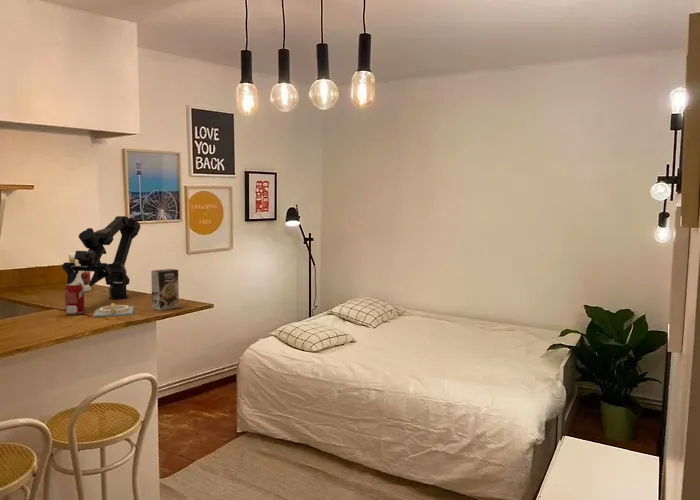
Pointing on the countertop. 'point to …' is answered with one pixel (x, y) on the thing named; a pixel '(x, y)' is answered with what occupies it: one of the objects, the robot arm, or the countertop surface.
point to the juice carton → (81, 274)
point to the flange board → (113, 311)
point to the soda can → (74, 298)
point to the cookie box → (165, 289)
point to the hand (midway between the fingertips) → (79, 285)
